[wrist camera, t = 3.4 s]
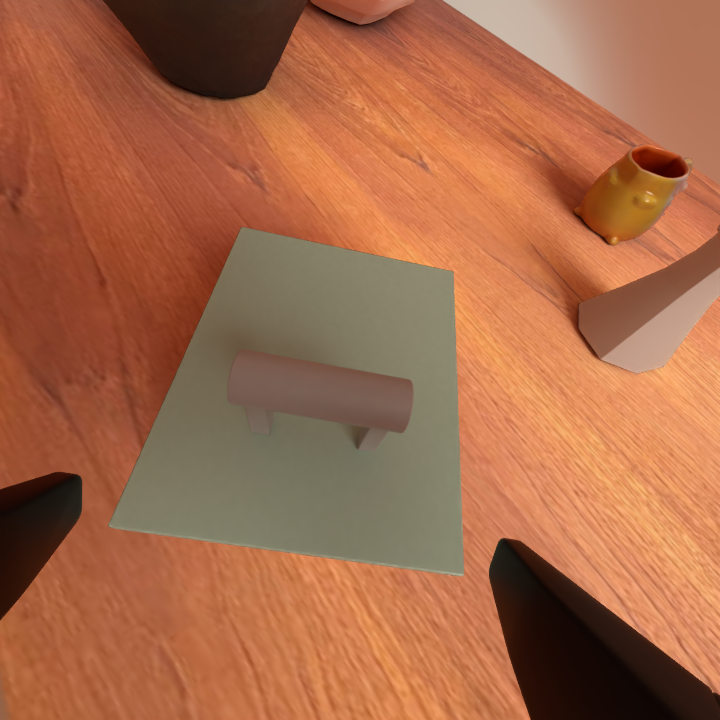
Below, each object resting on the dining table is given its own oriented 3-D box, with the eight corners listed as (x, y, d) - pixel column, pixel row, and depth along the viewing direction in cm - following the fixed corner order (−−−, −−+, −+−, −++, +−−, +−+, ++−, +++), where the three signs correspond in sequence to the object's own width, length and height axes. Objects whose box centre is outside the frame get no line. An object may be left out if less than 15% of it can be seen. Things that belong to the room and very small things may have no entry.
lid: (455, 576, 13) (549, 579, 8) (117, 529, 12) (3, 502, 7) (448, 280, 20) (494, 195, 16) (242, 238, 19) (227, 133, 15)
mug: (606, 251, 34) (668, 188, 29) (560, 206, 37) (609, 140, 31) (678, 231, 38) (745, 173, 33) (632, 192, 41) (687, 132, 35)
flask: (639, 306, 31) (771, 206, 22) (675, 380, 27) (850, 293, 19) (563, 295, 30) (671, 187, 21) (590, 370, 26) (733, 275, 18)
